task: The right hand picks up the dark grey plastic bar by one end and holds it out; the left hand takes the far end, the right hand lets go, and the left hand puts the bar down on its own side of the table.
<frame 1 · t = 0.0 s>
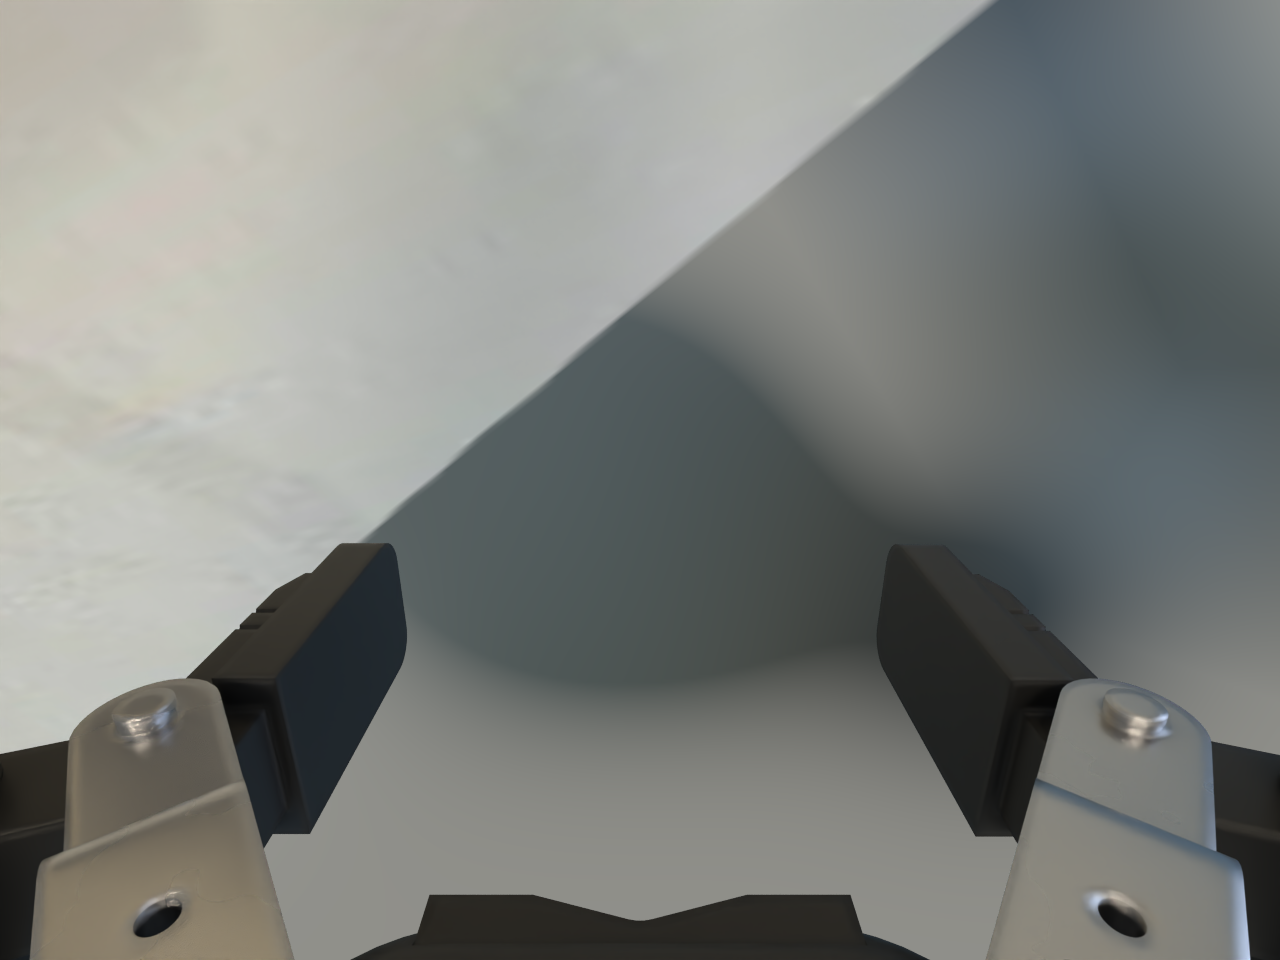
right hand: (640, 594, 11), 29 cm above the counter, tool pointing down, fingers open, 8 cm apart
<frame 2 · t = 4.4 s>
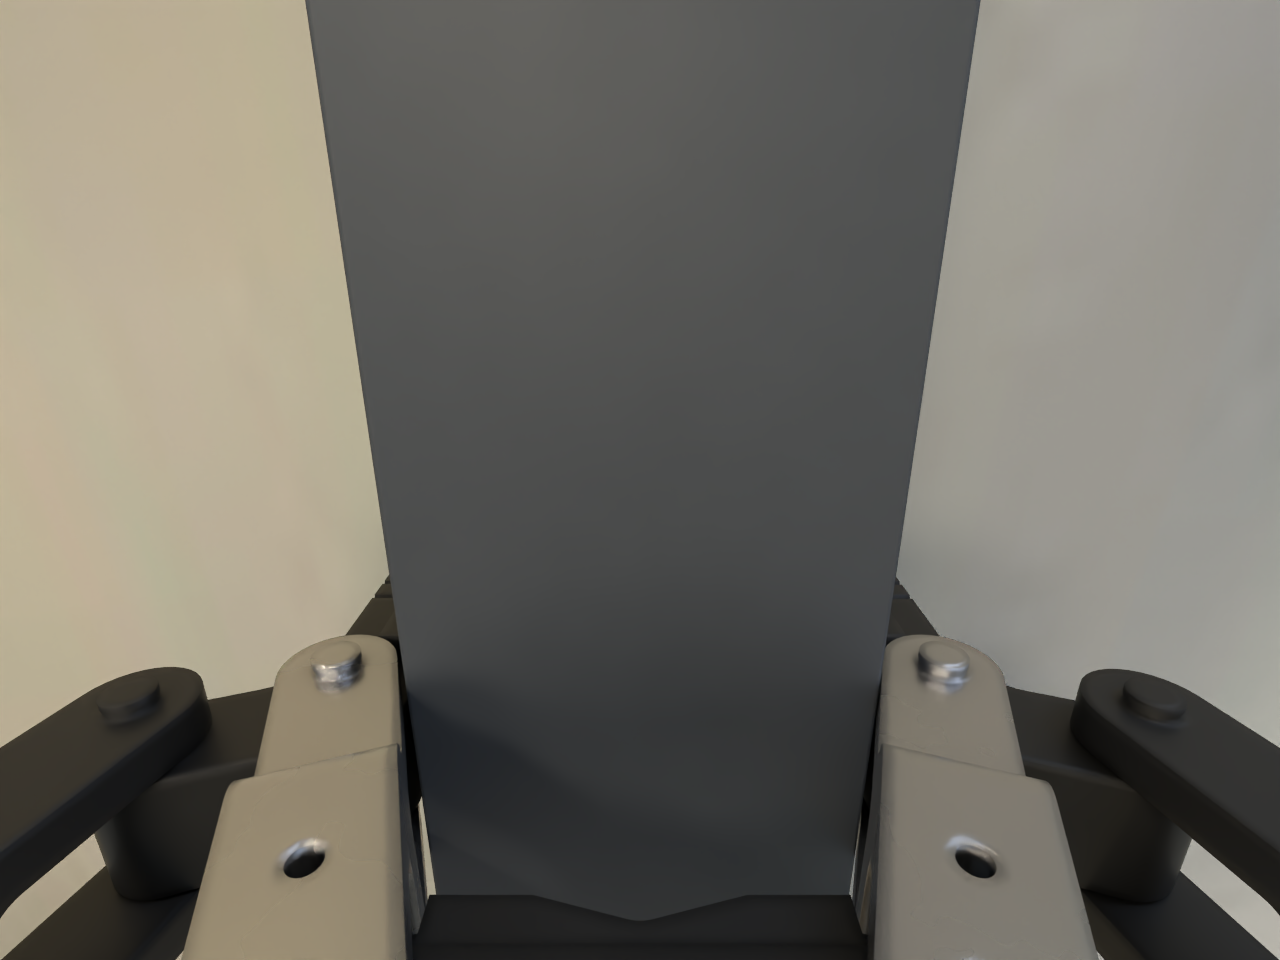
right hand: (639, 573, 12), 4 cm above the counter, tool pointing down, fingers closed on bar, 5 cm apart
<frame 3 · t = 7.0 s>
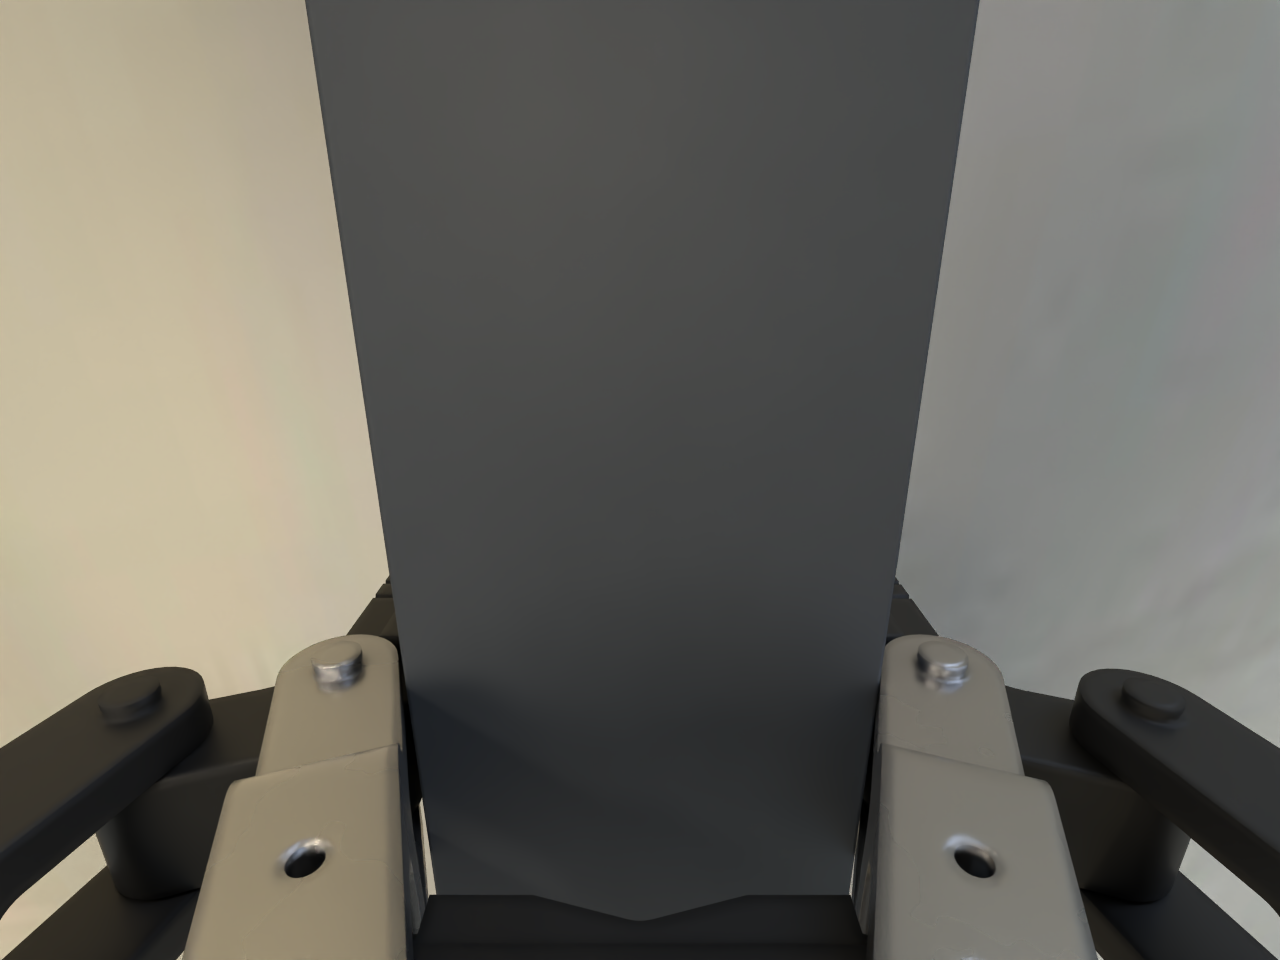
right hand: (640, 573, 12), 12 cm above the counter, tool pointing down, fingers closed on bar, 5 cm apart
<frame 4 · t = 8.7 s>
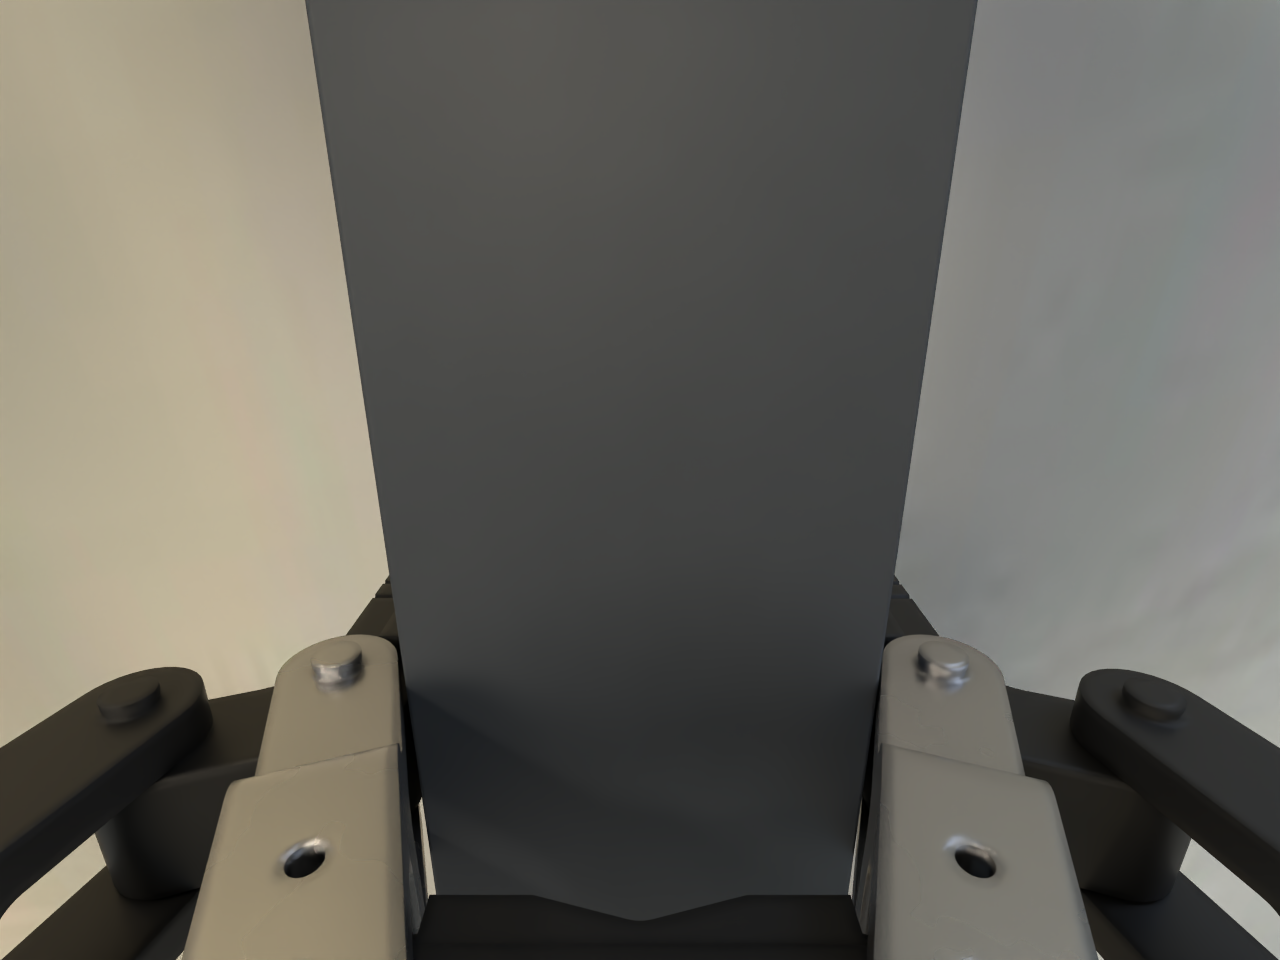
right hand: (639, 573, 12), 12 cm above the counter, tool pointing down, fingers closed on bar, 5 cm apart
when the right hand's fingers open (12 cm above the counter, at t = 9.8 s): bar stays where it is, held by the left hand.
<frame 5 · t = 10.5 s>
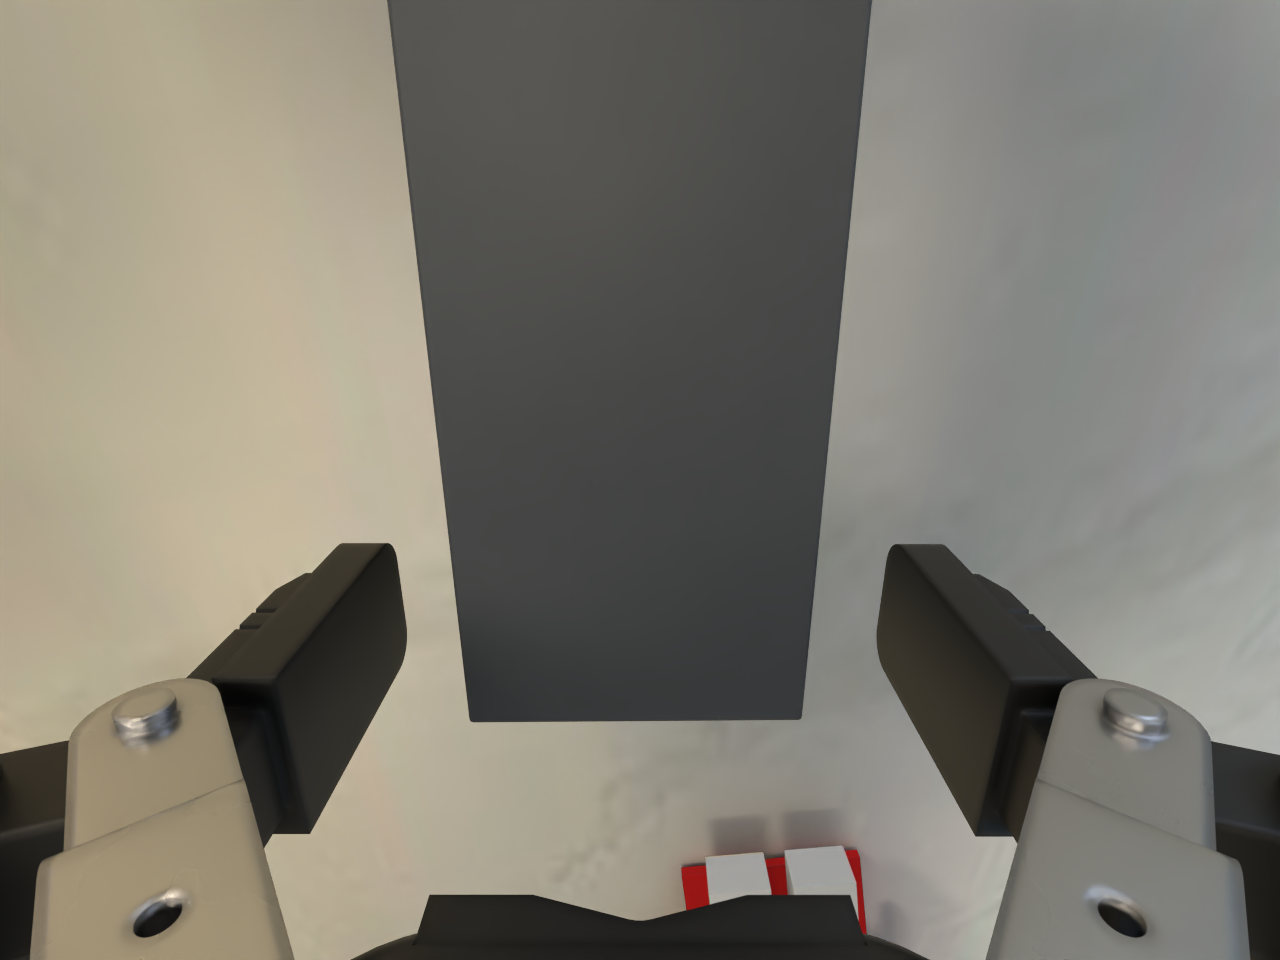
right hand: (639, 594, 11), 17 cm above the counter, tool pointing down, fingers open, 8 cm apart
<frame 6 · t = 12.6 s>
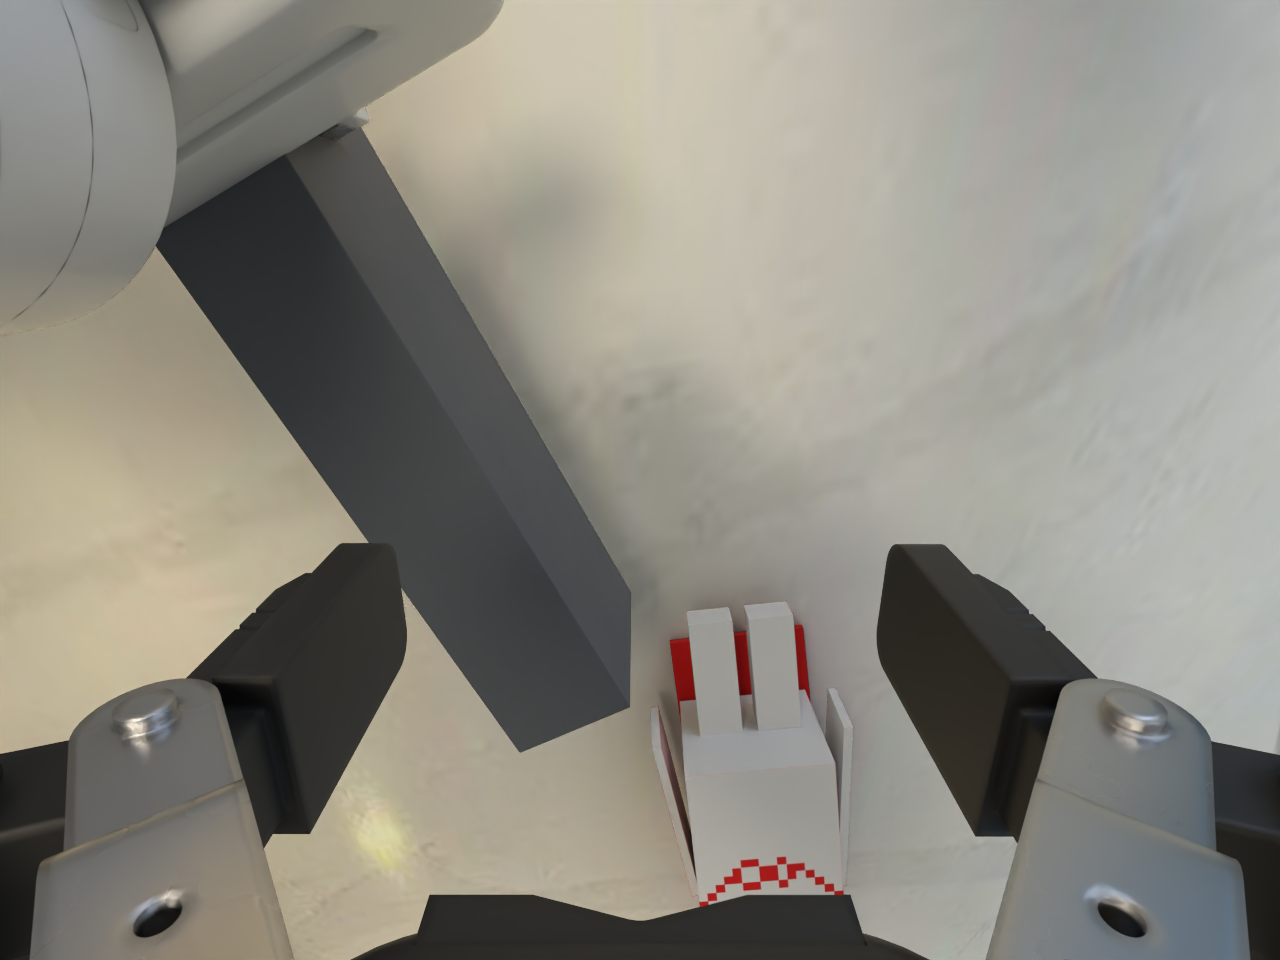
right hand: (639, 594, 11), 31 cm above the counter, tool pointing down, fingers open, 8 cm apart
toy: (742, 757, 51), on the counter
bar: (448, 384, 30), point 10 cm above the counter, touching left hand
when the left hand's fingers open (5 cm above the counter, at t = 16.6 s): bar stays where it is, on the counter.
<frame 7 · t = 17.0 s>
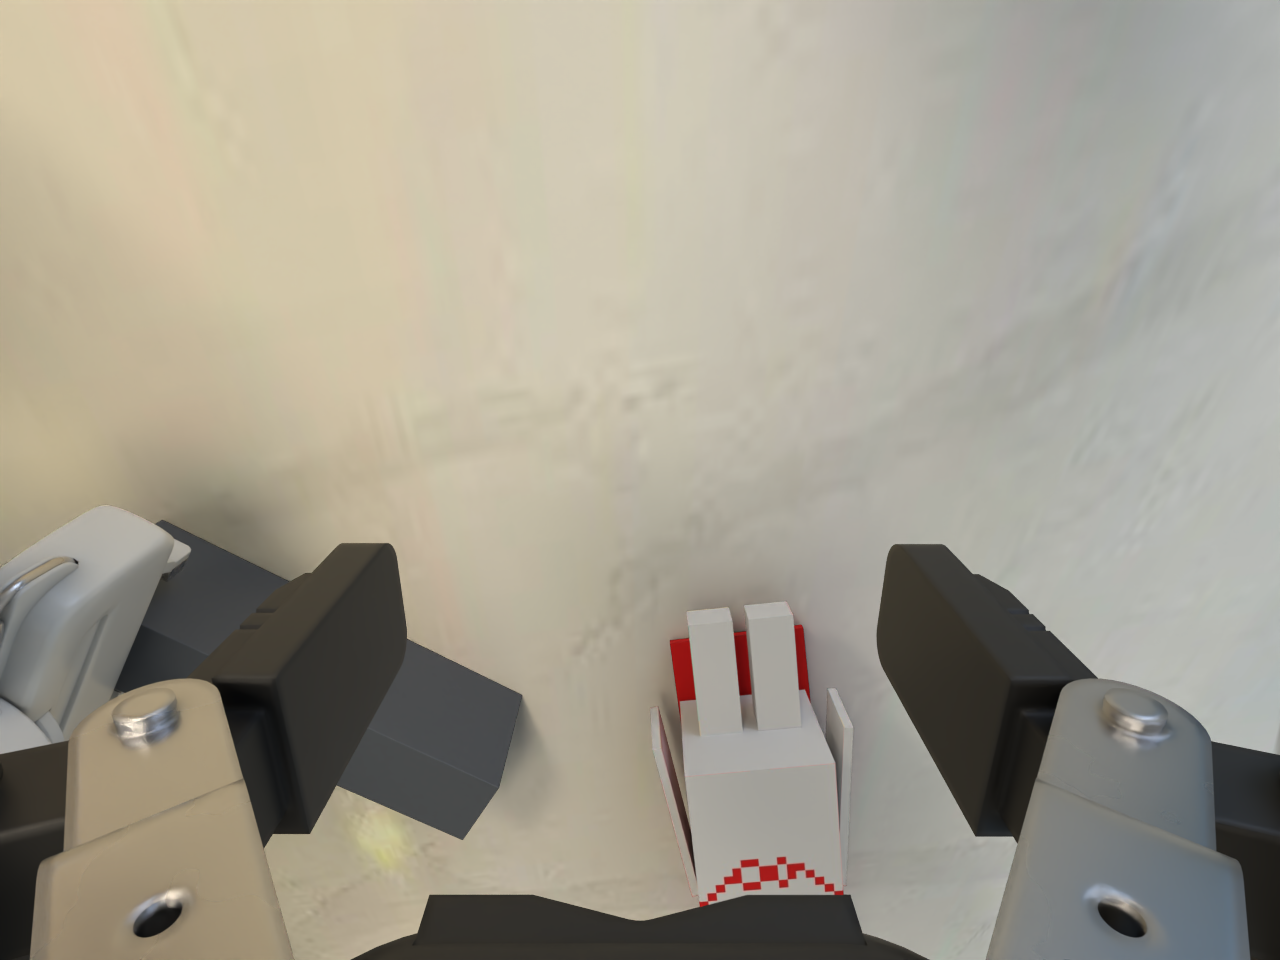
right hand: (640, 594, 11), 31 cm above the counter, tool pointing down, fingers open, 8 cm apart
toy: (742, 757, 51), on the counter
bar: (337, 638, 47), on the counter
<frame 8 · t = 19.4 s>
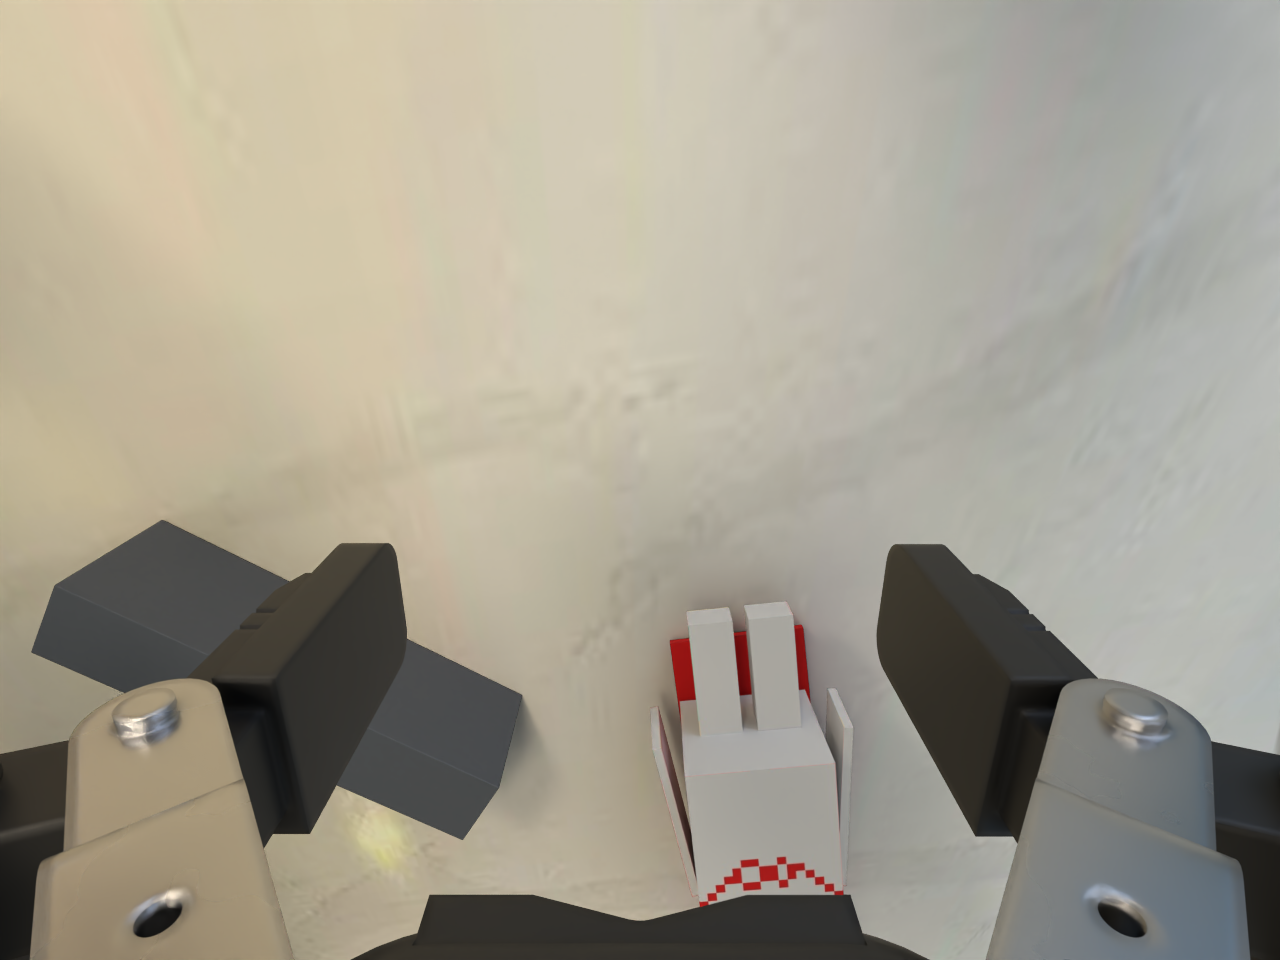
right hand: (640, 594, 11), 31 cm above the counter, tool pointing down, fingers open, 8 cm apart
toy: (742, 757, 51), on the counter
bar: (337, 638, 47), on the counter
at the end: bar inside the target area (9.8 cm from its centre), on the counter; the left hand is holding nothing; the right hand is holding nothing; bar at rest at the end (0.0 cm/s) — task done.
